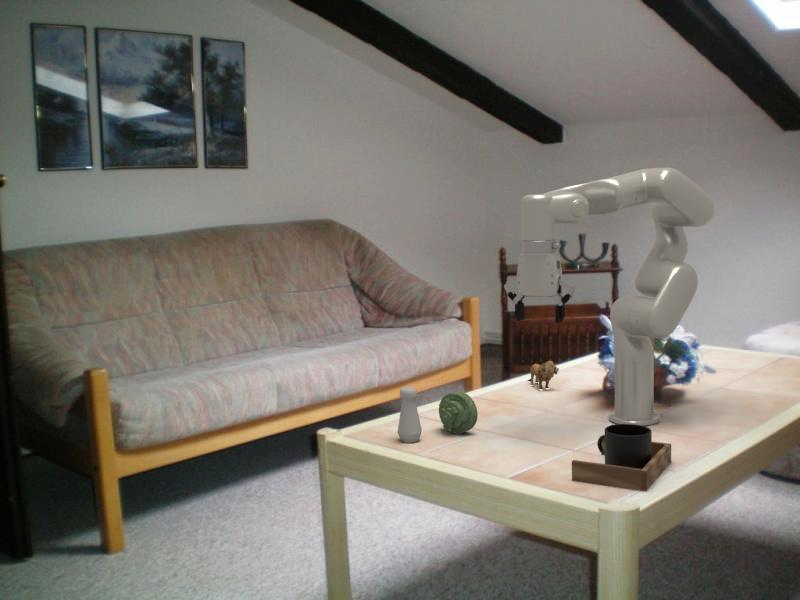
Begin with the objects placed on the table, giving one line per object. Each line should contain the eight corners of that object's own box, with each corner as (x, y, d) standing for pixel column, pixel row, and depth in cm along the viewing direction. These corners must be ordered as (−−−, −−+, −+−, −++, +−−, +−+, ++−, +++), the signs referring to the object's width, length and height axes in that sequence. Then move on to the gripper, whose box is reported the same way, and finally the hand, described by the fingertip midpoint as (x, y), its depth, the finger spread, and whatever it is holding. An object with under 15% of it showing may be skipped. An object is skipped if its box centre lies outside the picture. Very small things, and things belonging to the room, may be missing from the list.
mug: (610, 459, 189) (609, 419, 188) (660, 471, 180) (660, 428, 179) (585, 470, 182) (585, 428, 181) (636, 482, 174) (636, 438, 173)
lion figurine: (561, 391, 253) (561, 361, 251) (545, 393, 251) (545, 363, 249) (534, 382, 266) (534, 353, 265) (519, 384, 264) (519, 355, 263)
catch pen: (602, 453, 193) (602, 435, 193) (671, 461, 186) (671, 443, 185) (571, 480, 176) (571, 461, 176) (645, 491, 169) (645, 471, 168)
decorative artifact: (478, 434, 212) (477, 394, 211) (461, 441, 207) (459, 400, 206) (445, 427, 219) (444, 389, 217) (428, 434, 213) (427, 394, 212)
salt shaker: (394, 439, 210) (392, 386, 209) (415, 435, 212) (414, 383, 211) (404, 445, 205) (402, 391, 203) (426, 441, 207) (424, 388, 205)
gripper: (580, 246, 199) (580, 320, 201) (510, 246, 208) (511, 317, 210) (568, 249, 193) (569, 325, 195) (497, 249, 202) (499, 321, 204)
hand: (539, 321), depth 203 cm, fingers open, 9 cm apart
